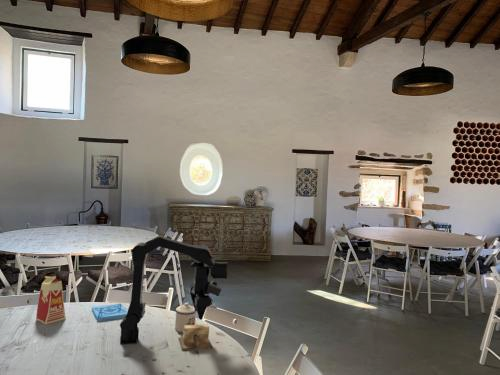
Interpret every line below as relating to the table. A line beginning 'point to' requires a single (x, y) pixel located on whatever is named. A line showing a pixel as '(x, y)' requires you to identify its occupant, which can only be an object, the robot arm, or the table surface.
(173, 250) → the robot arm
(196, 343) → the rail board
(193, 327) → the tan notched block
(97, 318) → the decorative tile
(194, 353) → the table surface
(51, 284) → the milk carton
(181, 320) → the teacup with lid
